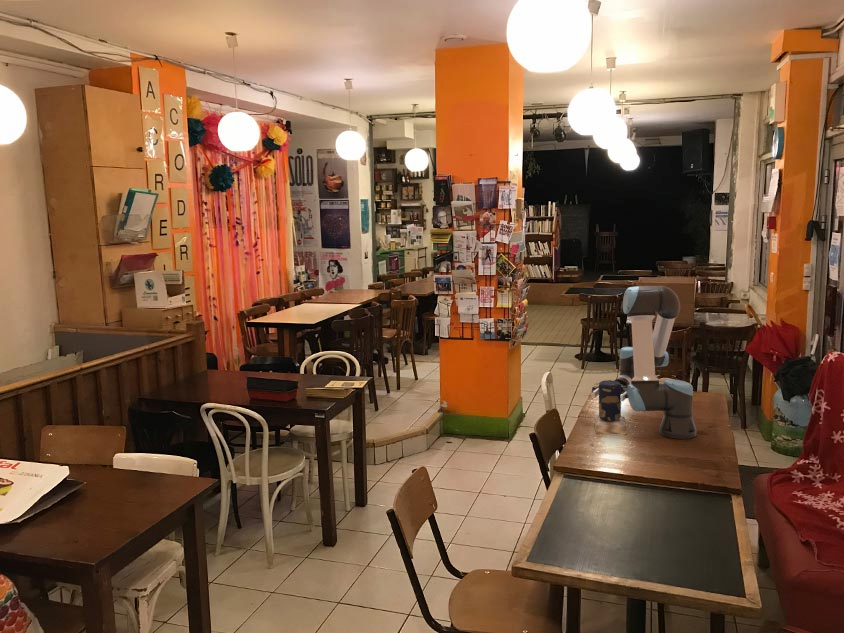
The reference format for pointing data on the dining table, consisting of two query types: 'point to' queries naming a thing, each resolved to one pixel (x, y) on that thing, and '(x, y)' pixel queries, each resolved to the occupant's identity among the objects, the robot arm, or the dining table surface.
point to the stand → (610, 426)
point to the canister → (609, 400)
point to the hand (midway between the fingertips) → (607, 396)
